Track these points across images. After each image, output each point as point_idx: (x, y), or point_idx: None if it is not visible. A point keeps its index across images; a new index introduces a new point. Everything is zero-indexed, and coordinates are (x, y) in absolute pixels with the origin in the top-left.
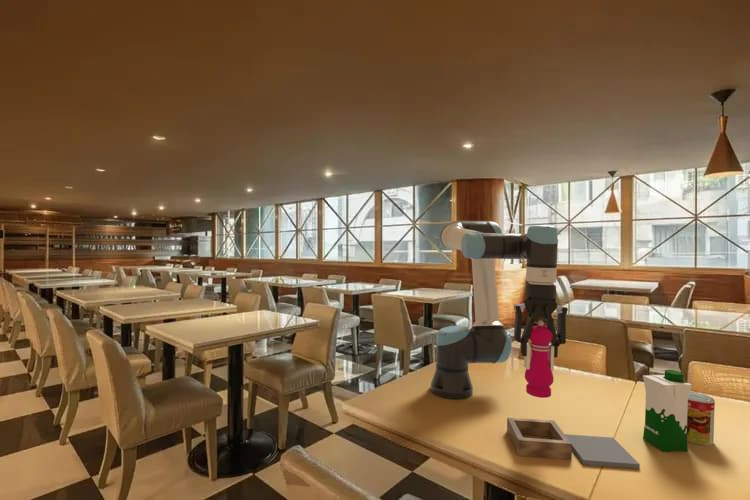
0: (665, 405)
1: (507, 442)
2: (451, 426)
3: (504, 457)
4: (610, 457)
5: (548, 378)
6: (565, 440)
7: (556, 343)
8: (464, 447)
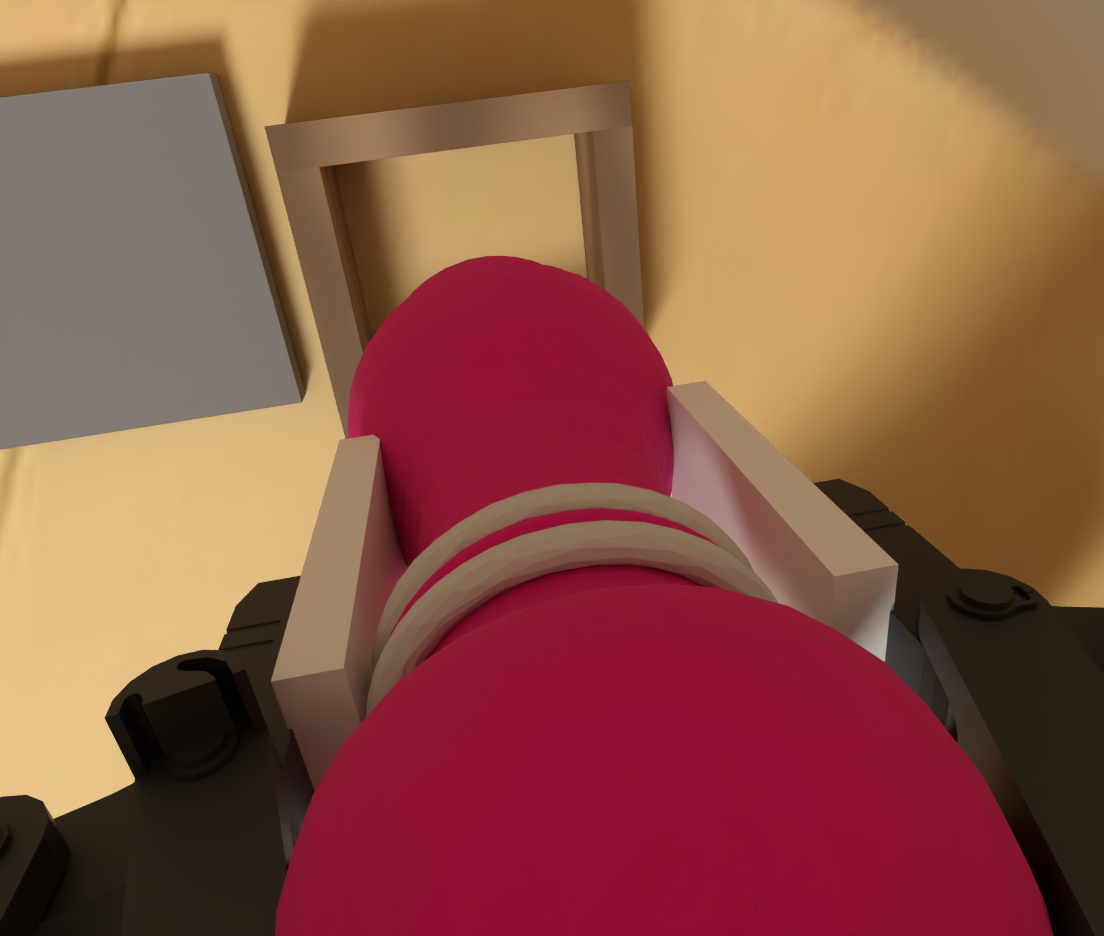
0: None
1: (645, 241)
2: (930, 344)
3: (693, 35)
4: (26, 161)
5: (422, 303)
6: (305, 169)
7: (192, 756)
8: (907, 100)
